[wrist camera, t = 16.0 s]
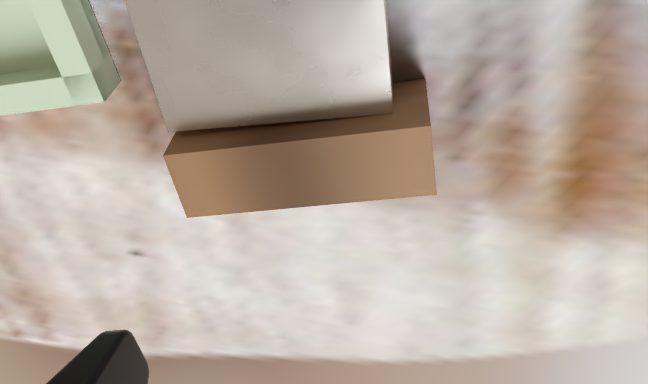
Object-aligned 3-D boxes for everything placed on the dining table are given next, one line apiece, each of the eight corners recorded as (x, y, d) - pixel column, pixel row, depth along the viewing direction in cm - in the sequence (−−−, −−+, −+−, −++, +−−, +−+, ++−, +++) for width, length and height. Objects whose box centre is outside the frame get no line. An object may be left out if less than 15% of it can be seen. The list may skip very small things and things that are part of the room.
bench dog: (425, 78, 20) (430, 125, 17) (430, 142, 21) (436, 194, 19) (188, 108, 21) (163, 155, 19) (208, 166, 22) (187, 217, 20)
